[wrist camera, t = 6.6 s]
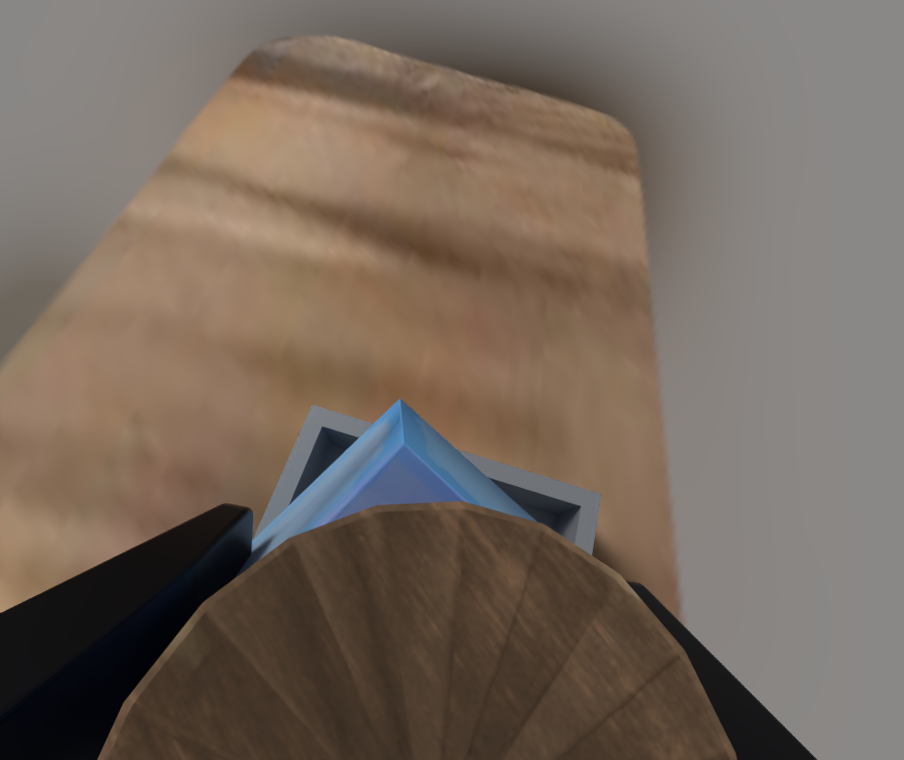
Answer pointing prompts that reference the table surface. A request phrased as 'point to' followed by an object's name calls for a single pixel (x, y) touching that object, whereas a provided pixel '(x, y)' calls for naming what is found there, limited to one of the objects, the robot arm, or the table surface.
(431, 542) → the perfume bottle
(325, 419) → the tray
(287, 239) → the table surface
